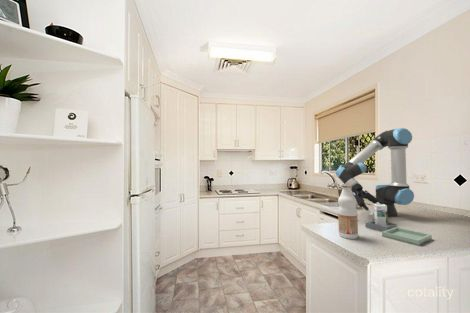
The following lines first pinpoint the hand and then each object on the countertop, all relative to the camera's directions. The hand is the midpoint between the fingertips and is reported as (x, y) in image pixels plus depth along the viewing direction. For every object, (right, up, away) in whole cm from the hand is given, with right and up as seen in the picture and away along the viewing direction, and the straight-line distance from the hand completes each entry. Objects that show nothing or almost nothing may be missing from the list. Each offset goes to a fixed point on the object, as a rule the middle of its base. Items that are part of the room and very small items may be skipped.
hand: (378, 213), depth 133 cm
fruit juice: (-26, -9, -15) cm, 32 cm away
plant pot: (+12, -12, +59) cm, 62 cm away
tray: (+3, -9, -18) cm, 20 cm away
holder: (+1, -9, -1) cm, 9 cm away
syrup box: (+1, -9, -1) cm, 9 cm away
